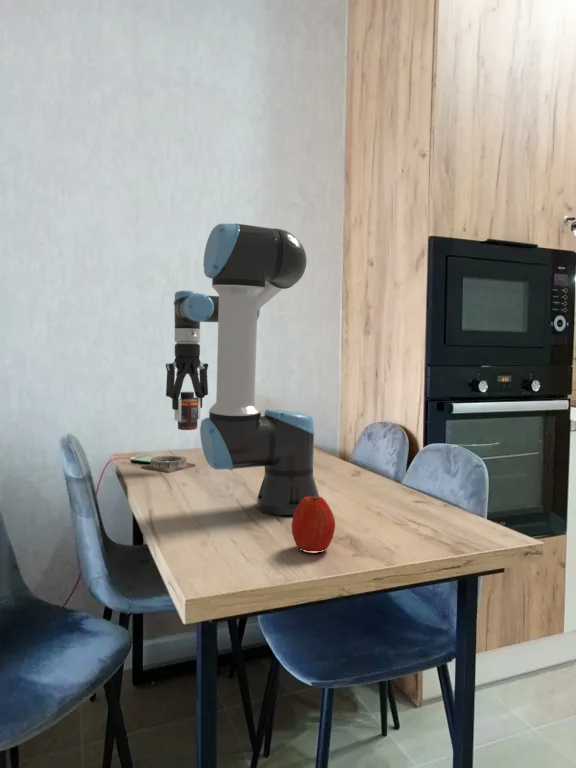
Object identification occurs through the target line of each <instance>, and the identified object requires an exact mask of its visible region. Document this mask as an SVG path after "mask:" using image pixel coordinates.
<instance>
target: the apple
mask: <svg viewBox="0 0 576 768" xmlns="http://www.w3.org/2000/svg"><path fill="white" fill-rule="evenodd" d="M312 496H313V495H312ZM335 519H336V518H335V516H334V514H333V511H332V510H331V507H330V505H329V504H328V502H327V501H326V499H324V498H323V497H322V496H319V497H314V496H313V497H304V498H303V499H302V500H301V502H300V503H299V505H298V506H297V508H296V510H295V512H294V515H293V516H292V521H291V534H292V537H293V538H292V539H293V540H294V542H295V545H296V546H297V548H298V549H299V548H300V549H302V550H306V551H322V550H325V549H326V550H327V549H328V548H329V546H330V545H331V542H332V540H333V538H334V534H335V529H336V520H335ZM300 549H299V550H300Z"/></svg>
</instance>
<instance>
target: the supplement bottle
mask: <svg viewBox="0 0 576 768" xmlns="http://www.w3.org/2000/svg"><path fill="white" fill-rule="evenodd" d="M194 398H195V392H194V391H181V392H180V397H179V399H181V421H177V429H178V431H179V430H180V431H193V430H197V429H198V425H199V424H198V421H199V420H198V419H197V400H196V399H194Z"/></svg>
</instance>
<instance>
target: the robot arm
mask: <svg viewBox="0 0 576 768" xmlns="http://www.w3.org/2000/svg"><path fill="white" fill-rule="evenodd" d="M202 266H203V272H204V276H205V277H206V278H209V279H210V280H211V283H212V284H211V288H213V290H215V292H216V293H217V294H218V295H207V294H204V293H200V292H198V291H195V290H178V291H175V293H174V301H173V305H174V306H173V307H174V342H175V344H174V357H175V358H174V361H173V362H170V363H166V364H165V369H166V387H165V389H166V390H165V396H166V397H169V398H170V399H171V403H172V404H171V407H172V408H171V409H172V410H174V421H176V422H178V421H181V399H180V397H181V392H182V389H183V384H184V380H185V378H186V376H187V375H189V377H190V381H191V384H192V387H193V392H194V396H195V397H194V399H196V400H197V420H201V409H202V408H203V399H204V398H205V396H208V395H209V387H208V385H209V384H208V368H209V364H208V363H205V362H202V361H201V360H200V356H201V345H200V344H199V343H200V342H201V338H200V337H201V326H200V325H201V323H217V325H218V326H217V359H216V361H217V363H216V365H217V366H216V397H215V398H216V402H215V403H214V404H213V405H212V406H211V407H210V408H209V413H208V414H209V415H208V417H205V418H203V419H202V420H201V422H200V427H199V430H200V431H199V432H200V433H199V434H200V442H201V447H202V452H203V455H204V458H205V460H206V462H207V464H208V465H209V466H210V467H211V468H212V469H214V470H229V471H232V470H236V469H237V470H238V469H247V468H257V467H264V476H263V480H262V482H261V486H260V489H259V491H258V495H257V496H256V507H257V509H258V510H259V511H261V512H262V513H265V514H268V515H273V514H274V515H275V516H281V515H294V512H295V510H296V508H297V506H298V505H299V503H300V502H301V500H302V499H303V498H304V497H313V496H314V497H320V494H319V490H318V487H317V484H316V481H315V477H314V454H315V453H314V452H315V451H314V449H315V447H314V443H315V441H314V440H315V439H314V438H315V429H314V428H315V426H314V419H313V417H312V416H311V415H309V414H307V413H303V412H298V411H297V412H296V411H290V410H289V411H288V410H282V409H274V408H273V409H268V408H267V409H265V411H264V413H263V415H262V414H261V413H262V411H261V408H259V406H258V405H256V403H255V398H256V397H255V393H256V392H255V391H256V367H257V366H256V363H257V362H256V361H257V358H256V357H257V333H258V331H257V330H258V320H259V318H260V313H261V308H262V307H263V306H264V305H266V304H267V303H268V302H269V301H271V300H272V299H273V298H274V297H275V296H276V295H277V294H279V293H280V292H281V291H282V290H287V289H289V288H292V287H293V286H294V285H295V284H297V283H298V282H299V281H300V280H301V279H302V277H303V276H304V274H305V271H306V268H307V254H306V251H305V248H304V246H303V244H302V243H301V241H300V240H299V239H298V238H297V237H296V236H295V235H294V234H293V233H291V232H289V231H287V230H285V229H282V228H272V227H271V228H270V227H265V226H259V225H257V226H256V225H249V224H244V223H243V224H242V223H218V224H216V225H215V226H214V227H213V228H212V230H211V231H210V233H209V235H208V237H207V240H206V244H205V248H204V254H203V264H202ZM176 369H177V370H176ZM198 369H199V372H198ZM175 375H176V377H175ZM261 415H262V416H261ZM312 495H313V496H312Z"/></svg>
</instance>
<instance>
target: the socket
mask: <svg viewBox="0 0 576 768" xmlns="http://www.w3.org/2000/svg"><path fill="white" fill-rule="evenodd" d="M166 461H169V462H166ZM193 467H196V464H195V463H190V462H187V458H186V457H185V456H181V455H161V456H156V457H152V458H151V459H150V463H149V464H144V465H141V466H140V468H141V469H146V470H150V471H151V470H152V471H157V472H162V473H167V474H168V473H173V472H177V471H180V470H181V471H182V470H185V469H190V468H193Z"/></svg>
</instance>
